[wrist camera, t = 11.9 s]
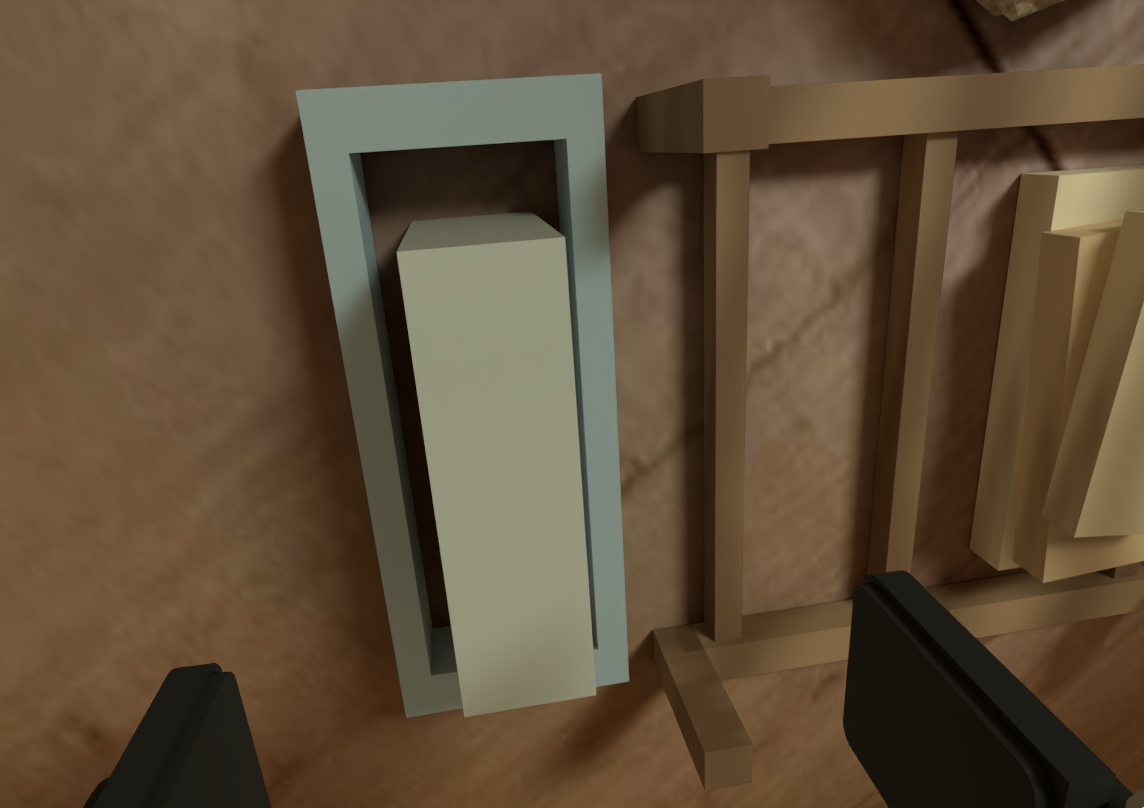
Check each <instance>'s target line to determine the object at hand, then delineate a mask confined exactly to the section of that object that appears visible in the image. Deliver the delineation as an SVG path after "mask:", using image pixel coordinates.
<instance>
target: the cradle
mask: <svg viewBox="0 0 1144 808" xmlns="http://www.w3.org/2000/svg"><path fill="white" fill-rule="evenodd" d="M296 96H297V101H298V107H299V113H300V118H301V124H302V130H303V135H304V141H305V147H306V152H307V158H308V164H309V169H310V175H311V181H312V186H313V192H314V198H315V203H316V209H317V215H318V220H319V226H320V232H321V237H322V243H323V249H324V254H325V260H326V266H327V272H328V277H329V283H330V289H331V294H332V300H333V306H334V311H335V317H336V323H337V328H338V334H339V340H340V345H341V351H342V357H343V362H344V368H345V374H346V379H347V385H348V391H349V396H350V402H351V408H352V413H353V419H354V425H355V430H356V436H357V442H358V448H359V453H360V459H361V465H362V470H363V476H364V482H365V487H366V493H367V499H368V504H369V510H370V516H371V521H372V527H373V533H374V538H375V544H376V550H377V555H378V561H379V567H380V572H381V578H382V584H383V589H384V595H385V601H386V606H387V612H388V618H389V624H390V629H391V635H392V641H393V646H394V652H395V658H396V663H397V669H398V675H399V680H400V686H401V692H402V697H403V703H404V709H405V714H406V718H408V717H415V716H421V715H427V714H433V713H439V712H445V711H451V710H457V709H463V704H462V697H461V690H460V684H459V677H458V670H457V663H456V656H455V649H454V642H453V636H452V629H451V626H446V627H440V628H433V627H432V621H431V614H430V607H429V601H428V594H427V588H426V581H425V575H424V568H423V562H422V555H421V548H420V542H419V535H418V529H417V522H416V516H415V509H414V503H413V496H412V490H411V483H410V476H409V470H408V463H407V457H406V450H405V444H404V437H403V431H402V424H401V418H400V411H399V404H398V398H397V391H396V385H395V378H394V372H393V365H392V359H391V352H390V345H389V339H388V332H387V326H386V319H385V313H384V306H383V300H382V293H381V287H380V280H379V273H378V267H377V260H376V254H375V247H374V241H373V234H372V228H371V221H370V215H369V208H368V201H367V195H366V188H365V182H364V175H363V169H362V162H361V156H360V153H364V152H379V151H394V150H408V149H423V148H438V147H453V146H468V145H483V144H498V143H513V142H528V141H543V140H554V151H555V166H556V181H557V195H558V210H559V225H560V234H562V235H563V236H564V237H565V243H566V257H567V272H568V286H569V301H570V316H571V330H572V345H573V360H574V374H575V389H576V404H577V418H578V433H579V448H580V462H581V477H582V492H583V506H584V521H585V536H586V550H587V565H588V579H589V594H590V609H591V623H592V638H593V653H594V667H595V682H596V687H599V686H605V685H611V684H617V683H623V682H629V666H628V644H627V622H626V600H625V578H624V556H623V534H622V512H621V490H620V468H619V446H618V424H617V402H616V380H615V357H614V335H613V313H612V291H611V269H610V247H609V225H608V203H607V181H606V159H605V137H604V115H603V93H602V73H596V74H578V75H561V76H543V77H525V78H507V79H489V80H471V81H453V82H435V83H417V84H400V85H382V86H364V87H346V88H328V89H310V90H296Z"/></svg>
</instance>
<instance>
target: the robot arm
mask: <svg viewBox="0 0 1144 808" xmlns="http://www.w3.org/2000/svg"><path fill="white" fill-rule="evenodd" d="M843 726H844V731H845V735H846V738H847V741H848V743H849V745H850V747H851V749H852V750H853V752H854V753H855V755H856V756H857V758H858V760H859V761H860V763H861V764H862V766H863V767H864V769H865V771H866V772H867V774H868V775H869V777H870V779H871V780H872V782H873V783H874V785H875V786H876V788H877V790H878V791H879V793H880V794H881V796H882V798H883V799H884V801H885V802H886V804H887V805H888V807H889V808H1144V790H1140V791H1137V792H1135V793H1134V794H1132V793H1131V792H1130V791H1129V790H1128V789H1127V788H1126V787H1125V786H1124V785H1123V784H1122V783H1121V782H1120V781H1119V780H1118V779H1117V778H1116V774H1114V773H1113V772H1112V771H1111V770H1110V769H1109V768H1108V767H1107V766H1106V765H1105V764H1104V763H1103V762H1102V761H1101V760H1100V759H1099V758H1098V757H1097V756H1096V755H1095V754H1094V753H1093V752H1092V751H1091V750H1090V749H1089V748H1088V747H1087V746H1086V745H1085V744H1084V743H1083V742H1082V741H1081V740H1080V739H1079V738H1078V737H1077V736H1076V735H1075V734H1074V733H1073V732H1071V731H1070V730H1069V729H1068V728H1067V727H1066V726H1065V725H1064V724H1063V723H1062V722H1061V721H1060V720H1059V719H1058V718H1057V717H1056V716H1055V715H1054V714H1053V713H1052V712H1051V711H1050V710H1049V709H1048V708H1047V707H1046V706H1045V705H1044V704H1043V703H1042V702H1041V701H1040V700H1039V699H1038V698H1037V697H1036V696H1035V695H1034V694H1033V693H1032V692H1031V691H1030V690H1028V689H1027V688H1026V687H1025V686H1024V685H1023V684H1022V683H1021V682H1020V681H1019V680H1018V679H1017V678H1016V677H1015V676H1014V675H1013V674H1012V673H1011V672H1010V671H1009V670H1008V669H1007V668H1006V667H1005V666H1004V665H1003V664H1002V663H1001V662H1000V661H999V660H998V659H997V658H996V657H995V656H994V655H993V654H992V653H991V652H990V651H989V650H988V649H987V648H985V647H984V646H983V645H982V644H981V643H980V642H979V641H978V640H977V639H976V638H975V637H974V636H973V635H972V634H971V633H970V632H969V631H968V630H967V629H966V628H965V627H964V626H963V625H962V624H961V623H960V622H959V621H958V620H957V619H956V618H955V617H954V616H953V615H952V614H951V613H950V612H949V611H948V610H947V609H946V608H945V607H944V606H942V605H941V604H940V603H939V602H938V601H937V600H936V599H935V598H934V597H933V596H932V595H931V594H930V593H929V592H928V591H927V590H926V589H925V588H924V587H923V586H922V585H921V584H920V583H919V582H918V581H917V580H916V579H915V578H914V577H913V576H912V575H911V574H909V573H908V572H907V571H903V570H899V571H892V572H884V573H877V574H869V575H867V576H866V577H865V579H864V580H863V585H859V586H857V587H856V588H855V590H854V595H853V607H852V619H851V631H850V643H849V655H848V667H847V679H846V691H845V703H844V715H843ZM83 808H271V806H270V802H269V798H268V795H267V791H266V787H265V784H264V780H263V776H262V773H261V769H260V765H259V762H258V758H257V754H256V751H255V747H254V743H253V740H252V736H251V732H250V729H249V725H248V721H247V718H246V714H245V710H244V707H243V703H242V699H241V696H240V692H239V688H238V685H237V681H236V678H235V676H234V674H233V673H232V672H222V669H221V667H220V666H219V665H218V664H216V663H211V664H203V665H196V666H189V667H181V668H175V669H173V670H171V671H170V672H169V674H168V675H167V677H166V678H165V680H164V682H163V684H162V685H161V687H160V689H159V691H158V693H157V694H156V696H155V698H154V700H153V701H152V703H151V705H150V707H149V709H148V710H147V712H146V714H145V716H144V717H143V719H142V721H141V723H140V725H139V726H138V728H137V730H136V732H135V733H134V735H133V737H132V739H131V740H130V742H129V744H128V746H127V748H126V749H125V751H124V753H123V755H122V756H121V758H120V760H119V762H118V764H117V765H116V767H115V769H114V771H113V772H112V774H111V776H110V777H109V778H106V779H105V780H103V781H102V782H101V783H99V784H98V786H97V787H96V788H95V790H94V791H93V792H92V794H91V795H90V797H89V799H88V800H87V802H86V804H85V806H84V807H83Z"/></svg>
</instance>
